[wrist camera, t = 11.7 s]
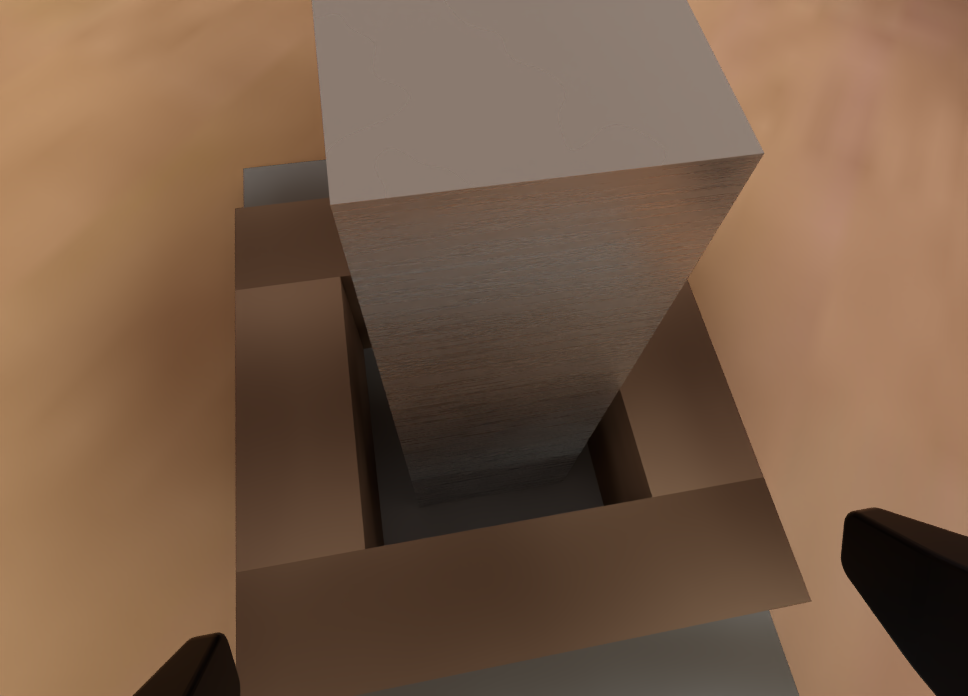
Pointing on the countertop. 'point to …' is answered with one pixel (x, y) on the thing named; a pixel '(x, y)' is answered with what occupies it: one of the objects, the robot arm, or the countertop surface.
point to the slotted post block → (482, 513)
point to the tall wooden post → (519, 211)
